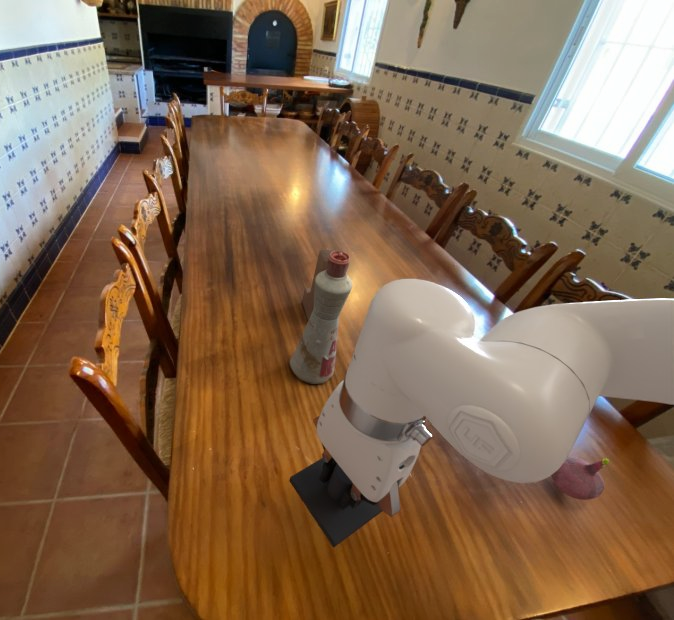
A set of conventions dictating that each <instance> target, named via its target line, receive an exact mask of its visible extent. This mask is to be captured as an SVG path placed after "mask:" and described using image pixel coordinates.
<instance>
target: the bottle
mask: <svg viewBox="0 0 674 620" xmlns="http://www.w3.org/2000/svg"><path fill="white" fill-rule="evenodd" d="M351 261H352V260H351V256H350V255H349V253H347V252H345V251H342V250H338V251H333V252H331V253H330V254H329V255H328V264H327V269H326V270H325V271H322V272H320V273H319V274H318V275H317V276H316V278H315V290H314V309H313V311H312V314H311V316H310V318H309V321H308V320H307V323H306V324H305V325H306V326H305V328H304V330H303V332H302V334H301V337H300V339H299V340H298V341H299V342H298V343H297V346H296V348H295V350H294V352H293V354H292V356H291V358H290V360H289V366H290V369H291V370H292V372H293V374H294V375H295V376H296V377H297V379H298V380H299V381H303V382H305V383H306V384H310V385H320V384H324V383H326V382H327V381H329V380H330V379H331V378H332V376H333V375H334V373H335V367H336V355H337V346H338V336H339V326H340V325H339V324H340V323H339V322H340V315H341V313H342V311H343V308H344V306H345V304H346V301H347V300H348V298H349V295H350V294H351V291H352V288H353V281H352V279H351V278H350V276H349V275H348V274H347V272H348V269H349V267H350V263H351Z"/></svg>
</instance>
